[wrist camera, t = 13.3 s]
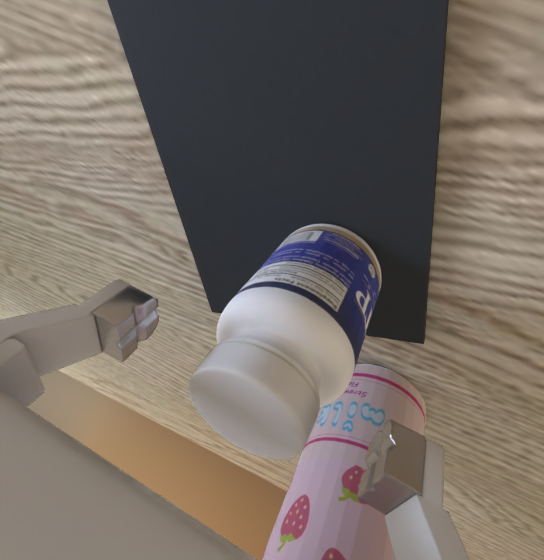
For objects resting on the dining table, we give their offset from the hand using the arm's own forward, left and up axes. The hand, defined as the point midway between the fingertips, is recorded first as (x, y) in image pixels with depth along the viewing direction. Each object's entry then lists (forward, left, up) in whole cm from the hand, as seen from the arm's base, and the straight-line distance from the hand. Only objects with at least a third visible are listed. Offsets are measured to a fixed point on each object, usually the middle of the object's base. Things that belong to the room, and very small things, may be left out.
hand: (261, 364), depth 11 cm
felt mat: (-2, +5, -8) cm, 10 cm away
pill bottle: (0, -1, -8) cm, 8 cm away
